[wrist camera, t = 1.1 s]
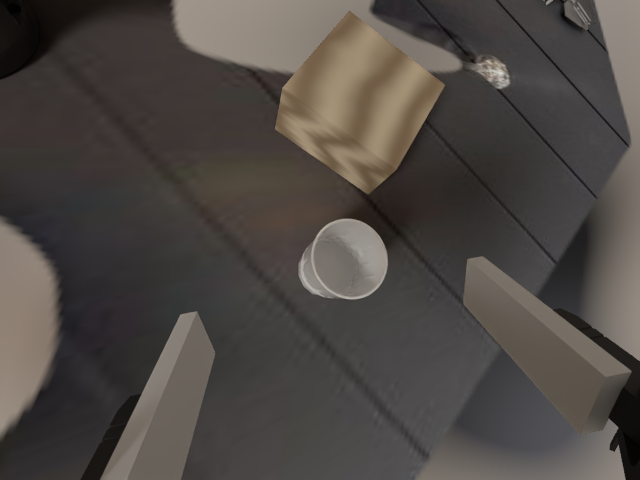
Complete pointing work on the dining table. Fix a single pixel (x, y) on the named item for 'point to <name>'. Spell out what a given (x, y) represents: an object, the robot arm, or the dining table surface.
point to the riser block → (357, 103)
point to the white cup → (344, 261)
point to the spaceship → (578, 12)
